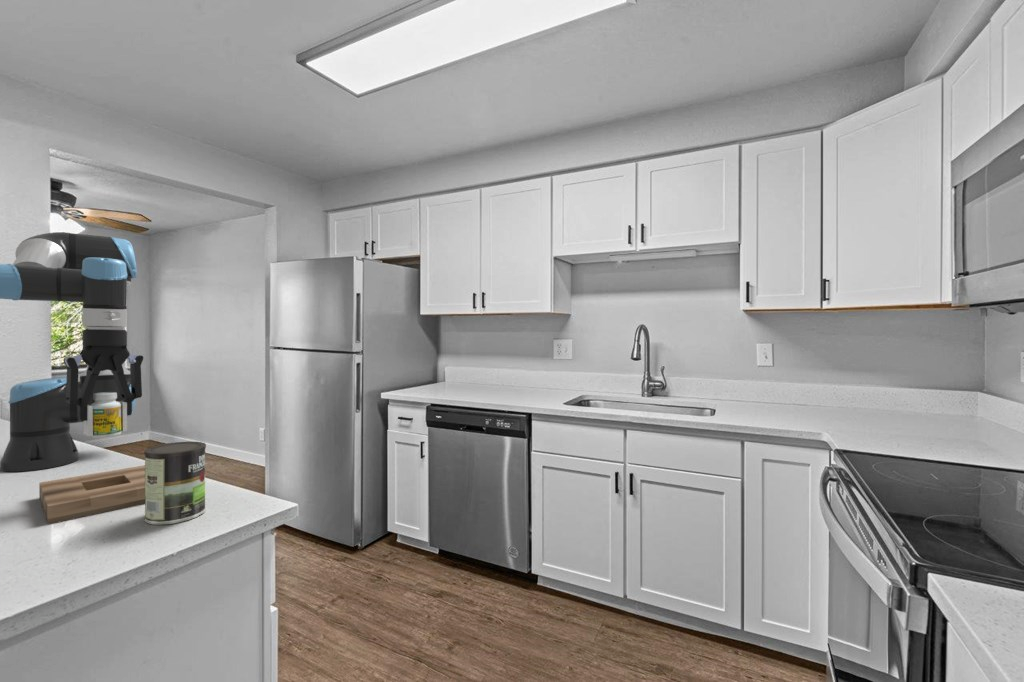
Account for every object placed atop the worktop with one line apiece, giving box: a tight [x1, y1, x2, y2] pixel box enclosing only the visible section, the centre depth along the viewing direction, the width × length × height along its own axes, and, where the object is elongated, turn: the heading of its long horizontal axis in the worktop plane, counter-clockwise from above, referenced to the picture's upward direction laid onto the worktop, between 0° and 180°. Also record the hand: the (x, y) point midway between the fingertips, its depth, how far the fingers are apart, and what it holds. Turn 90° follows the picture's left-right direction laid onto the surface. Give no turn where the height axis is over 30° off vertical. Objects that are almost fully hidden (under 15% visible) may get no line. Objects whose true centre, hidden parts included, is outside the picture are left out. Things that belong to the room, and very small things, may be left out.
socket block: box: [38, 464, 145, 525], centre depth 106 cm, size 20×20×4 cm
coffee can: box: [143, 441, 207, 526], centre depth 97 cm, size 10×10×14 cm
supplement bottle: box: [89, 392, 122, 439], centre depth 105 cm, size 5×5×10 cm
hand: (105, 432), depth 105 cm, fingers closed on supplement bottle, 5 cm apart
